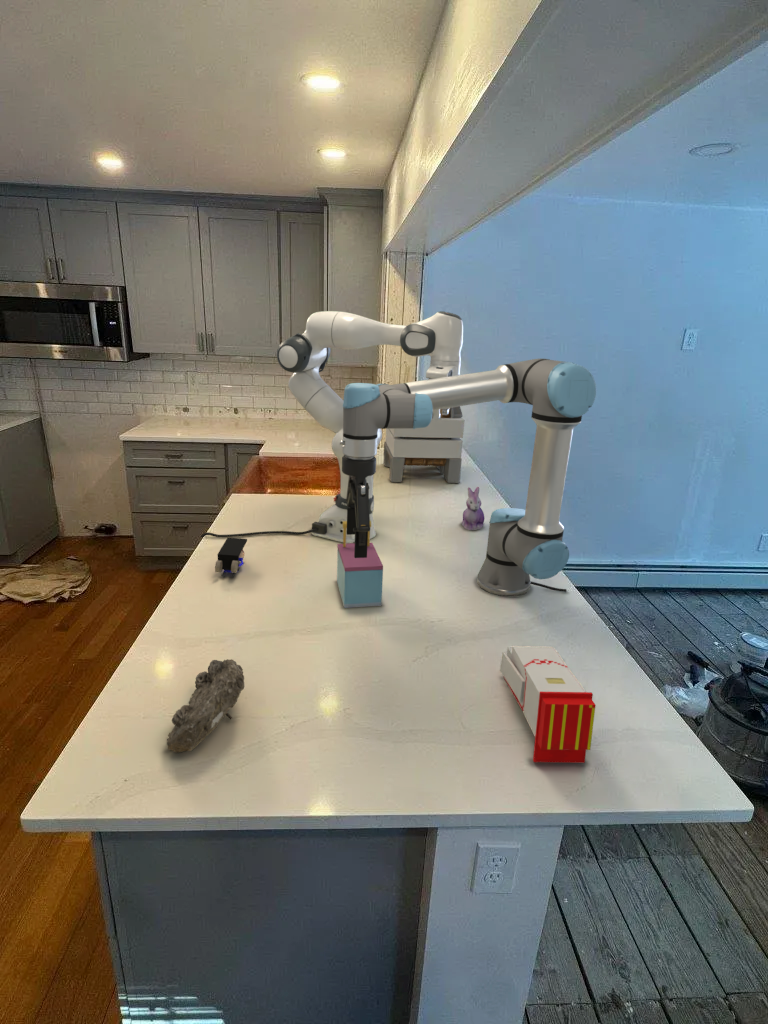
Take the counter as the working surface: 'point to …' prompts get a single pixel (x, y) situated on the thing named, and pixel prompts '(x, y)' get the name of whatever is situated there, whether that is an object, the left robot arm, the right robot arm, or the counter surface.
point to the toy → (550, 702)
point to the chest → (359, 586)
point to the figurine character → (230, 556)
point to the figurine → (473, 511)
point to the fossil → (206, 705)
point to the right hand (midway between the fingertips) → (356, 545)
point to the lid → (358, 563)
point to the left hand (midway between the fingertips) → (440, 417)
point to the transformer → (427, 446)
